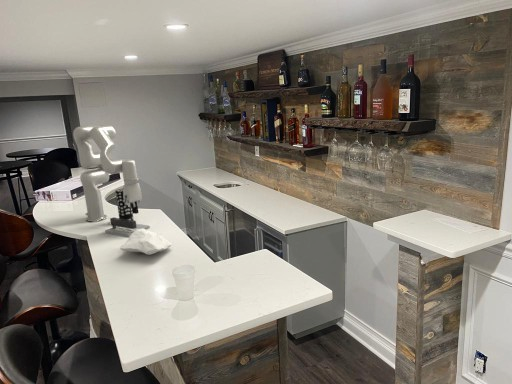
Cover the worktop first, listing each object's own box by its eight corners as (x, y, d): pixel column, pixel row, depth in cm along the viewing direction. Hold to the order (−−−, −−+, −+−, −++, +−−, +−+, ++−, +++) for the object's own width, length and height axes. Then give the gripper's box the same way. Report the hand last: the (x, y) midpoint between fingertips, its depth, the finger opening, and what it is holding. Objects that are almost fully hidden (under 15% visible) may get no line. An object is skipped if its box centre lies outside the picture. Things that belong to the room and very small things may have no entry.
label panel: (105, 232, 222) (104, 227, 221) (126, 224, 235) (126, 219, 235) (128, 237, 213) (128, 231, 212) (149, 228, 226) (149, 222, 225)
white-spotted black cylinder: (135, 219, 246) (131, 188, 241) (130, 223, 238) (126, 191, 233) (123, 219, 247) (118, 188, 242) (117, 223, 239) (112, 191, 234)
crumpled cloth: (126, 266, 171) (126, 246, 169) (113, 242, 201) (114, 225, 200) (177, 261, 182) (178, 242, 181) (159, 239, 212) (159, 223, 211)
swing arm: (109, 225, 224) (108, 218, 223) (114, 223, 226) (113, 217, 225) (132, 229, 215) (131, 222, 214) (137, 227, 217) (136, 220, 216)
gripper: (136, 179, 226) (140, 209, 230) (115, 184, 214) (120, 216, 218) (145, 179, 223) (149, 210, 227) (125, 184, 210) (130, 217, 214)
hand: (135, 213), depth 222 cm, fingers closed
